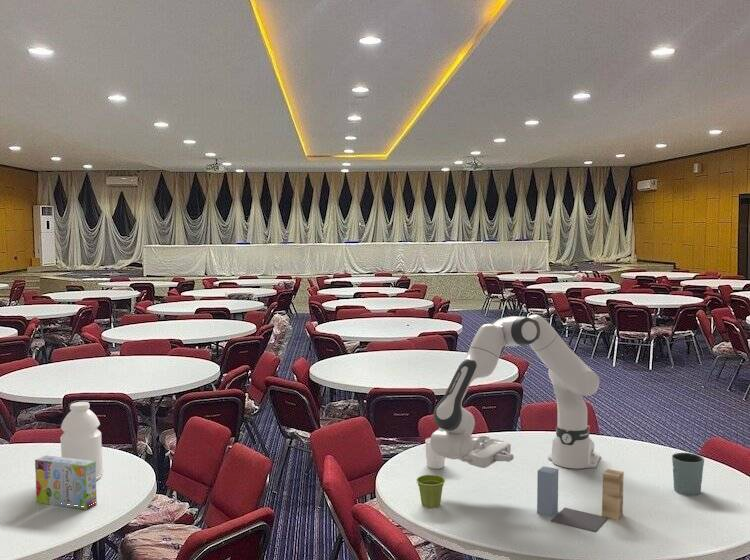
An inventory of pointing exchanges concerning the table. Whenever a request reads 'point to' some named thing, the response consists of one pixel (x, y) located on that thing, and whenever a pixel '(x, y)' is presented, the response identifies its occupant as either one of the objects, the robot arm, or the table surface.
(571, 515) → the mat
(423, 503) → the plant pot
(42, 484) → the snack box
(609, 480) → the oak pillar
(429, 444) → the white cup
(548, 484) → the slate pillar
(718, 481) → the table surface
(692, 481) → the teal embossed cup
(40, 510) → the table surface
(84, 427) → the bottle
